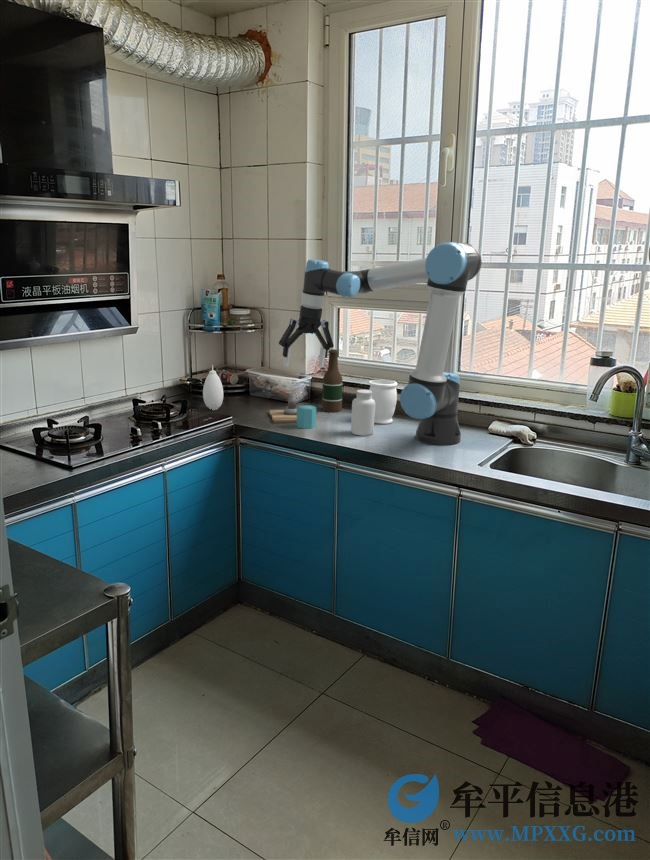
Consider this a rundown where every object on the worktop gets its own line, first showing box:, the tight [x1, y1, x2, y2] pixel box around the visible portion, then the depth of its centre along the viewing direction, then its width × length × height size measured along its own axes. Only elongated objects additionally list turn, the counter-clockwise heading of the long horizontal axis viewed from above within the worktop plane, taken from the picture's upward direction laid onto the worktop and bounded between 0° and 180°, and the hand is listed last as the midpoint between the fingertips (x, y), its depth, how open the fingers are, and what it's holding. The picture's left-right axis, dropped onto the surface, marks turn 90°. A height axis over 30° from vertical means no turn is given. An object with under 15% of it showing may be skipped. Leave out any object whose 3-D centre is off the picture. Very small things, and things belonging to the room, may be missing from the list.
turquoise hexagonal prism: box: [296, 404, 317, 430], centre depth 238 cm, size 7×7×7 cm
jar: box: [368, 379, 398, 425], centre depth 246 cm, size 11×10×15 cm
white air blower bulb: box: [202, 364, 224, 411], centre depth 257 cm, size 8×8×18 cm
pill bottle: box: [350, 389, 375, 437], centre depth 230 cm, size 8×8×15 cm
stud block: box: [268, 392, 297, 424], centre depth 249 cm, size 16×12×9 cm
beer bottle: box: [321, 348, 344, 413], centre depth 260 cm, size 8×8×24 cm
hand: (303, 366), depth 234 cm, fingers open, 13 cm apart
